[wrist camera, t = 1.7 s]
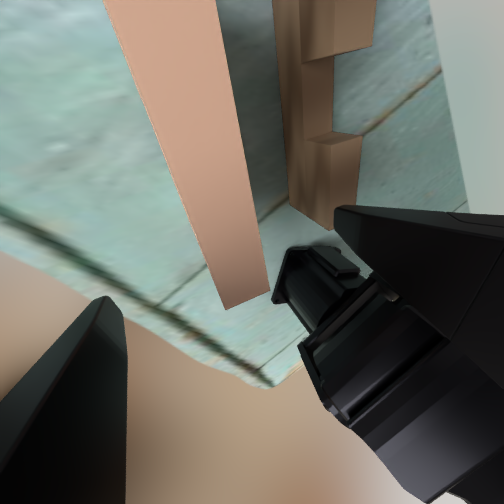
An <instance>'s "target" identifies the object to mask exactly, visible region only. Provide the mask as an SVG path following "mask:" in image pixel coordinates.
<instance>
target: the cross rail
mask: <svg viewBox="0 0 504 504" xmlns="http://www.w3.org/2000/svg"><path fill="white" fill-rule="evenodd" d="M376 1H377V0H272V4H273V15H274V27H275V39H276V50H277V62H278V73H279V85H280V96H281V108H282V120H283V131H284V143H285V154H286V166H287V177H288V189H289V201H290V205H291V206H292V207H294V208H295V209H297V210H298V211H300V212H301V213H303V214H304V215H306V216H307V217H309V218H310V219H312V220H313V221H315V222H316V223H318V224H319V225H321V226H322V227H324V228H325V229H327V230H328V231H330V230H333V229H334V227H333V216H334V209H335V208H336V207H338V206H341V205H356V197H357V187H358V177H359V167H360V157H361V148H362V138H363V136H361V135H353V134H345V133H338V132H332V116H333V81H334V56H336V55H340V54H344V53H348V52H351V51H355V50H359V49H363V48H366V47H370V46H372V40H373V30H374V20H375V10H376Z"/></svg>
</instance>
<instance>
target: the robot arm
mask: <svg viewBox="0 0 504 504" xmlns="http://www.w3.org/2000/svg"><path fill="white" fill-rule="evenodd" d="M333 227H334V229H335V231H336V232H337V233H338V234H339V236H340V237H341V238H342V239H343V240H344V241H345V242H346V244H347V245H348V246H349V247H350V248H351V249H352V250H353V251H354V252H355V254H356V255H357V256H358V257H360V258H361V259H362V260H363V261H364V262H365V263H366V264H367V265H368V266H369V267H370V268H371V269H373V270H374V271H373V272H372V273H371V274H370V275H369V277H368V278H367V279H365V278H364V277H362V276H361V275H360V274H359V273H360V271H361V270H360V268H359V267H357V266H356V265H355V264H353V263H352V262H351V261H349V260H348V259H347V258H345V257H344V256H343V255H341V250H340V249H339V248H337V247H330V246H311V247H308V248H289V249H288V250H287V251H286V253H285V256H284V259H283V263H282V266H281V269H280V272H279V276H278V279H277V282H276V285H275V288H274V292H273V295H272V298H271V301H272V302H273V304H283V303H287V304H288V305H289V307H290V308H291V309H292V311H293V312H294V313H295V315H296V316H297V317H298V319H299V320H300V322H301V323H302V324H303V326H304V327H305V328H306V330H307V331H308V332H309V334H310V335H309V336H308V337H307V338H306V339H305V340H304V341H303V342H302V341H301V342H300V343H299V344H298V345H297V347H298V349H299V352H300V354H301V358H302V360H303V362H304V365H305V367H306V369H307V371H308V374H309V376H310V378H311V380H312V383H313V385H314V387H315V389H316V392H317V394H318V396H319V398H320V400H321V402H322V403H323V406H324V407H325V409H326V410H327V411H329V412H331V413H332V414H333V415H334V416H335V417H336V418H337V419H338V421H340V422H341V423H342V424H343V425H344V426H346V427H347V428H349V429H351V430H352V431H354V432H355V433H356V434H357V435H358V436H359V437H360V438H361V439H362V440H364V442H365V443H366V444H367V445H368V446H369V447H370V448H371V449H372V450H373V451H374V452H375V454H376V455H377V456H378V457H379V459H380V460H381V461H382V462H383V463H384V465H385V466H386V467H387V469H388V470H389V471H390V472H391V474H392V475H393V476H394V477H395V479H396V480H397V481H398V482H399V484H400V485H401V486H402V487H403V488H404V489H405V490H406V491H407V492H409V493H410V494H412V495H414V496H415V497H417V498H418V499H420V500H421V501H423V502H424V503H426V504H430V503H432V502H433V501H434V500H436V499H437V498H438V497H440V496H441V495H443V494H444V493H445V492H447V493H449V494H452V495H454V496H456V497H459V498H461V499H463V500H464V501H465V502H466V503H467V504H504V215H487V214H470V213H455V212H446V213H445V212H440V211H427V210H413V209H399V208H386V207H372V206H358V205H341V206H338V207H336V208H335V209H334V216H333ZM291 253H292V254H291ZM290 254H291V255H290ZM392 300H393V301H392ZM127 372H128V356H127V345H126V336H125V328H124V319H123V314H122V312H121V310H120V309H119V308H118V307H117V305H116V304H115V303H114V302H113V300H112V299H111V298H110V297H109V296H102V297H100V298H97V299H95V300H93V301H92V302H91V303H90V304H89V305H88V306H87V307H86V308H85V310H84V311H83V312H82V313H81V314H80V315H79V316H78V317H77V318H76V319H75V321H74V322H73V323H72V324H71V325H70V326H69V327H68V328H67V330H65V331H64V333H63V334H62V335H61V336H60V337H59V338H58V339H57V340H56V342H55V343H54V344H53V345H52V346H51V347H50V348H49V349H48V350H47V351H46V352H45V353H44V355H43V356H42V357H41V358H40V359H39V360H38V361H37V362H36V363H35V364H34V366H32V368H31V369H30V370H29V371H28V372H27V373H26V374H25V375H24V376H23V378H22V379H21V380H20V381H19V382H18V383H17V384H16V385H15V386H14V388H12V389H11V391H10V392H9V393H8V394H7V395H6V396H5V397H4V398H3V399H2V400H1V402H0V504H125V495H126V434H127V429H126V428H127Z"/></svg>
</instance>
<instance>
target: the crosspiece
mask: <svg viewBox="0 0 504 504" xmlns="http://www.w3.org/2000/svg"><path fill="white" fill-rule="evenodd" d="M103 3H104V5H105V8H106V10H107V13H108V15H109V18H110V20H111V23H112V26H113V28H114V31H115V33H116V36H117V38H118V41H119V43H120V46H121V48H122V51H123V54H124V56H125V59H126V61H127V64H128V66H129V69H130V71H131V74H132V76H133V79H134V82H135V84H136V87H137V89H138V92H139V94H140V97H141V99H142V101H143V104H144V106H145V109H146V111H147V114H148V116H149V119H150V122H151V124H152V127H153V129H154V132H155V134H156V137H157V139H158V142H159V144H160V147H161V150H162V152H163V155H164V157H165V160H166V162H167V165H168V167H169V171H170V173H171V176H172V178H173V181H174V183H175V186H176V188H177V191H178V194H179V196H180V199H181V201H182V204H183V206H184V209H185V211H186V214H187V216H188V219H189V222H190V224H191V226H192V229H193V231H194V234H195V236H196V239H197V241H198V244H199V246H200V249H201V251H202V254H203V256H204V259H205V261H206V264H207V266H208V269H209V271H210V273H211V276H212V278H213V281H214V283H215V286H216V288H217V291H218V293H219V296H220V298H221V301H222V303H223V306H224V308H225V310H227V309H230V308H232V307H234V306H237V305H239V304H241V303H243V302H246V301H248V300H250V299H252V298H255V297H257V296H259V295H261V294H264V293H266V292H268V291H270V287H269V282H268V276H267V271H266V266H265V260H264V255H263V250H262V245H261V239H260V234H259V229H258V223H257V218H256V213H255V208H254V202H253V197H252V192H251V187H250V181H249V176H248V171H247V165H246V160H245V155H244V150H243V144H242V139H241V134H240V128H239V123H238V118H237V113H236V107H235V102H234V97H233V91H232V86H231V81H230V76H229V70H228V65H227V60H226V54H225V49H224V44H223V39H222V33H221V28H220V23H219V17H218V12H217V7H216V2H215V0H103Z"/></svg>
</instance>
